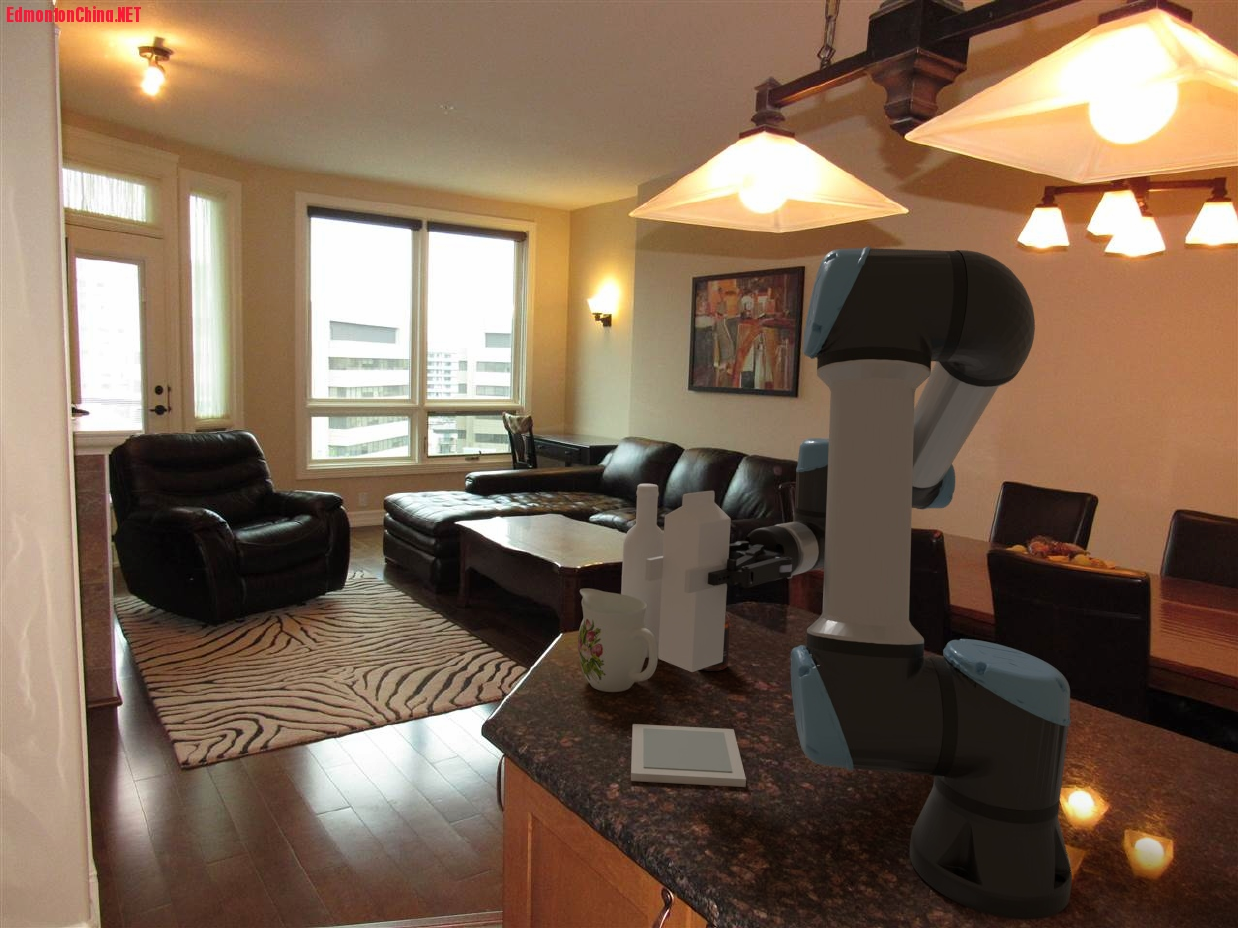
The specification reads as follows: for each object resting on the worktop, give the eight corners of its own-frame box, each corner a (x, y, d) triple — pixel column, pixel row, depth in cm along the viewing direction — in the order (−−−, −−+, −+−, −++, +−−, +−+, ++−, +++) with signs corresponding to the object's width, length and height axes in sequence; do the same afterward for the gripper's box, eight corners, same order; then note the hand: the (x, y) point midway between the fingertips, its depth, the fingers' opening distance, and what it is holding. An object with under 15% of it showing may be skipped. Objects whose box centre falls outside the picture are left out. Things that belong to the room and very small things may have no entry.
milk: (723, 662, 106) (734, 493, 103) (691, 673, 102) (702, 497, 99) (688, 649, 111) (697, 487, 108) (656, 658, 106) (665, 490, 104)
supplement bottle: (711, 657, 145) (715, 595, 144) (735, 668, 140) (738, 603, 139) (685, 663, 142) (688, 599, 140) (709, 674, 137) (712, 608, 136)
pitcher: (626, 713, 120) (630, 622, 119) (553, 675, 134) (555, 593, 132) (679, 696, 127) (683, 610, 126) (605, 662, 141) (608, 583, 139)
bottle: (634, 640, 153) (641, 480, 149) (671, 649, 148) (679, 485, 145) (609, 651, 146) (616, 484, 143) (647, 661, 142) (654, 489, 138)
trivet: (745, 786, 100) (746, 777, 100) (630, 780, 101) (631, 771, 101) (733, 735, 114) (733, 728, 114) (632, 730, 115) (632, 722, 115)
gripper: (835, 592, 111) (725, 625, 95) (725, 563, 124) (613, 588, 109) (839, 537, 110) (728, 561, 94) (728, 514, 123) (615, 532, 108)
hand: (667, 575), depth 101 cm, fingers closed on milk, 6 cm apart
